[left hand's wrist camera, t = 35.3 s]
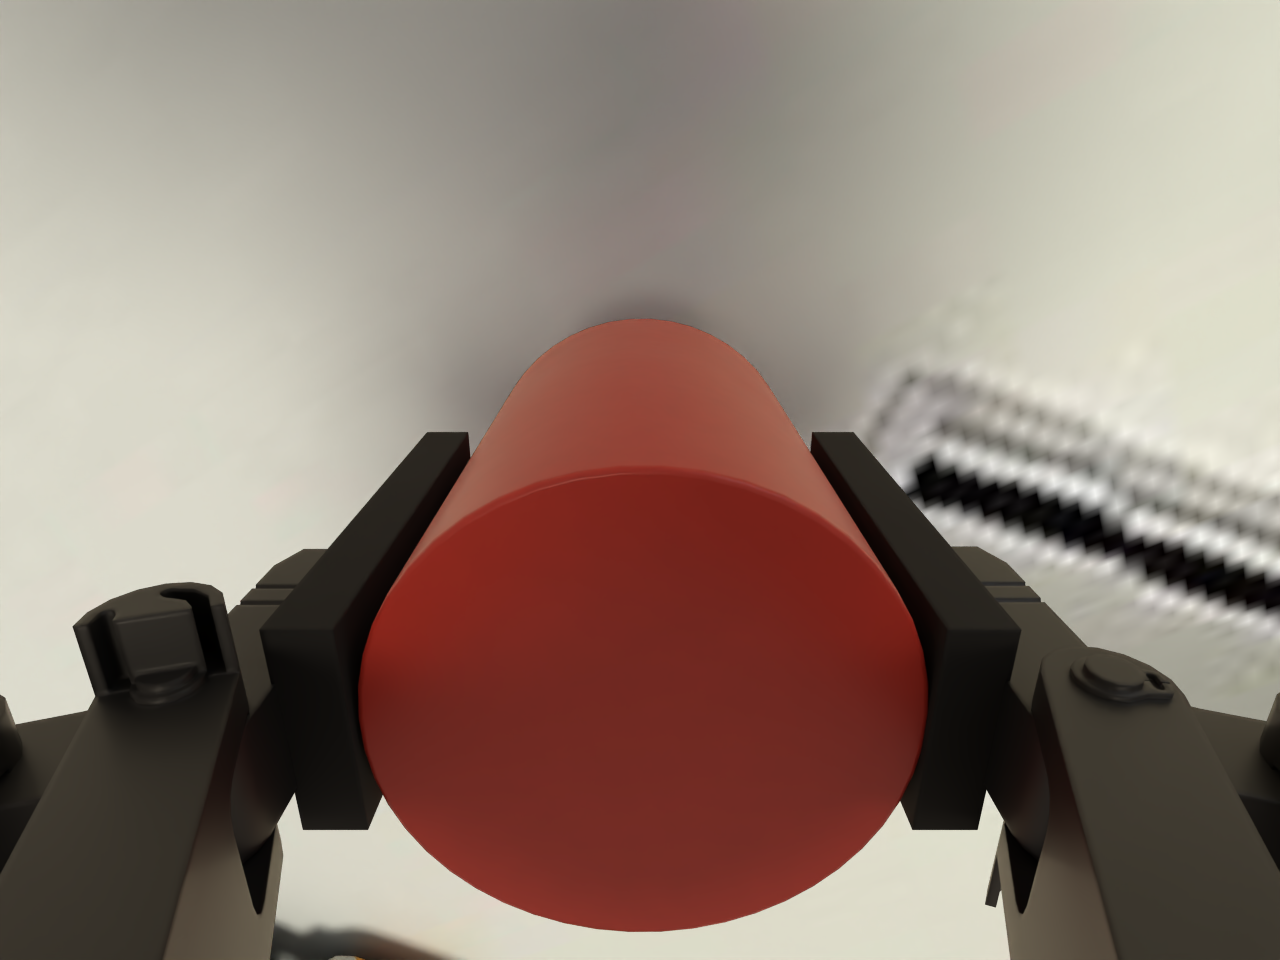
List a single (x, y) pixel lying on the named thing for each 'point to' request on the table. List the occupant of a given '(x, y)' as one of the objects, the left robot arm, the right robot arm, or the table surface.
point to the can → (642, 649)
